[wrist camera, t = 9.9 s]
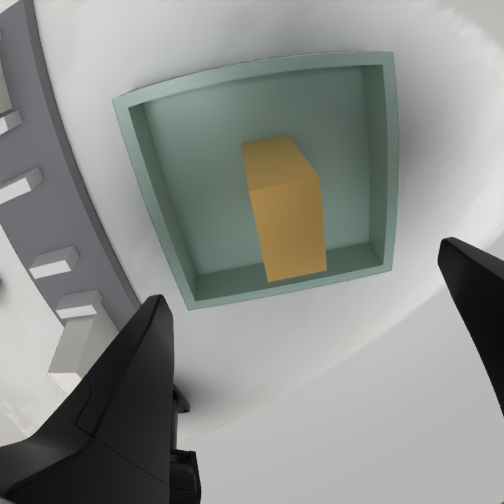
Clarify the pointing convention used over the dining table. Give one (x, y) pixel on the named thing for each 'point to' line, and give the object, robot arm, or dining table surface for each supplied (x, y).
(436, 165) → the dining table surface
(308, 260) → the block
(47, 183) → the block
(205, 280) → the tray
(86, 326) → the block
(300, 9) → the dining table surface
